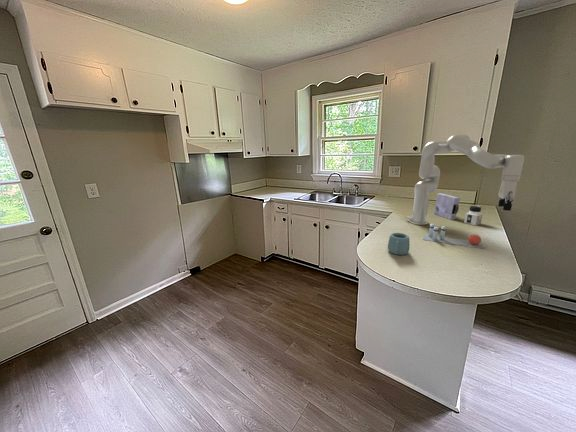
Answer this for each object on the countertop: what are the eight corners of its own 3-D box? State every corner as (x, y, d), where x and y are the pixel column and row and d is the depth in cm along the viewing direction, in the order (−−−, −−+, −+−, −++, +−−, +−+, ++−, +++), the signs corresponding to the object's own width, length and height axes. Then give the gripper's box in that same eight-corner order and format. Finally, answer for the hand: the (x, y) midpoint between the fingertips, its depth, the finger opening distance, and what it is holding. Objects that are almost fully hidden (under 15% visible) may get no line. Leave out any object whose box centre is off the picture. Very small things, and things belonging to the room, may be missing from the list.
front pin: (439, 240, 150) (441, 227, 147) (439, 238, 152) (441, 226, 149) (444, 240, 148) (446, 227, 146) (443, 239, 150) (446, 226, 148)
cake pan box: (457, 219, 188) (461, 197, 183) (451, 220, 187) (455, 198, 182) (438, 213, 206) (441, 193, 201) (433, 213, 205) (436, 193, 200)
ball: (467, 245, 141) (469, 235, 140) (466, 241, 146) (468, 232, 145) (480, 247, 138) (482, 237, 137) (479, 243, 143) (481, 233, 142)
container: (475, 225, 174) (479, 208, 170) (463, 222, 181) (467, 205, 177) (481, 223, 177) (484, 206, 174) (469, 221, 184) (472, 204, 180)
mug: (406, 261, 124) (408, 243, 121) (383, 256, 130) (385, 239, 127) (409, 250, 136) (412, 233, 134) (389, 246, 142) (390, 230, 139)
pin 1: (428, 237, 154) (430, 224, 152) (428, 236, 157) (430, 223, 154) (432, 237, 153) (434, 225, 151) (432, 236, 155) (434, 224, 153)
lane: (423, 239, 151) (423, 239, 151) (423, 234, 159) (423, 234, 159) (483, 248, 136) (483, 248, 136) (480, 242, 145) (480, 242, 144)
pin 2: (432, 240, 149) (434, 227, 147) (432, 239, 151) (433, 226, 149) (436, 241, 148) (438, 228, 145) (436, 240, 150) (438, 227, 147)
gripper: (497, 176, 141) (491, 204, 146) (506, 179, 126) (499, 211, 131) (514, 176, 138) (508, 205, 142) (525, 180, 123) (518, 212, 127)
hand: (504, 208), depth 137 cm, fingers open, 9 cm apart
